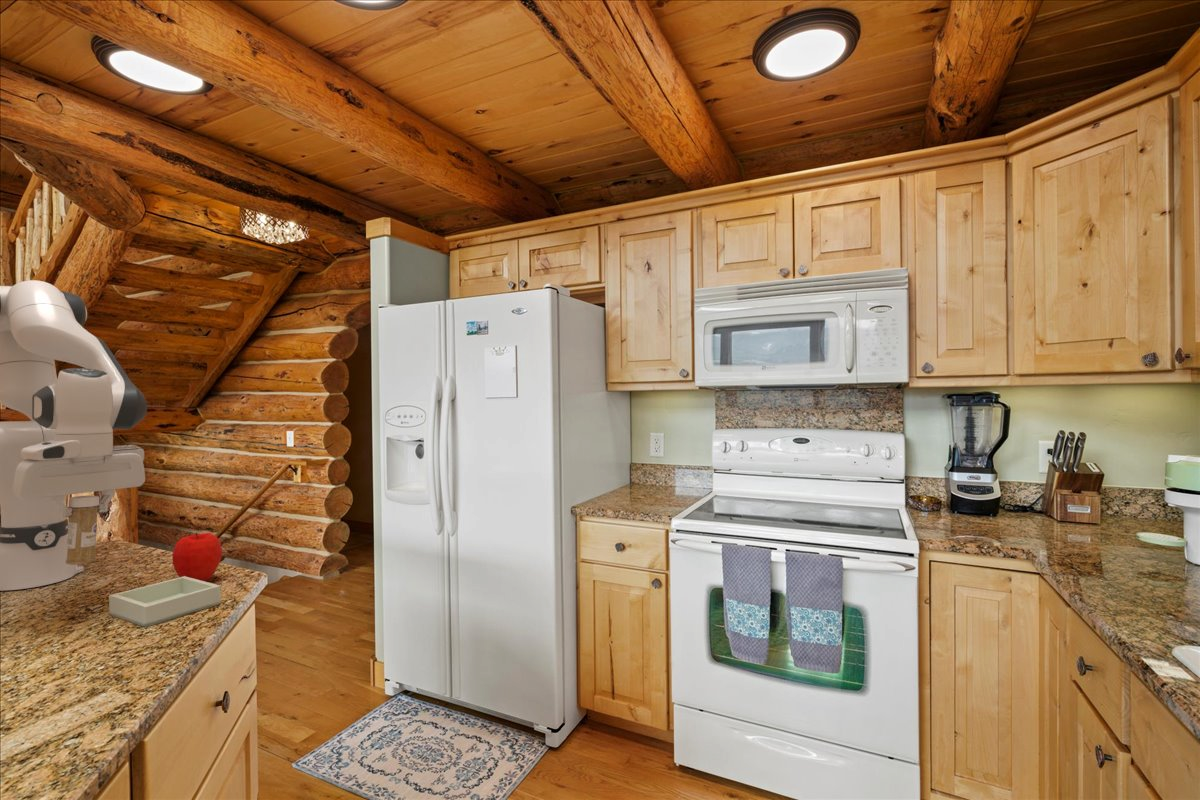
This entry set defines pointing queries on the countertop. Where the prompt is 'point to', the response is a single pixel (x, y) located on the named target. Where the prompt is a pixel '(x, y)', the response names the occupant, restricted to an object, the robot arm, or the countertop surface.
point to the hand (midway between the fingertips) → (83, 514)
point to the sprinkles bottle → (82, 530)
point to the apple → (197, 556)
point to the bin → (164, 601)
